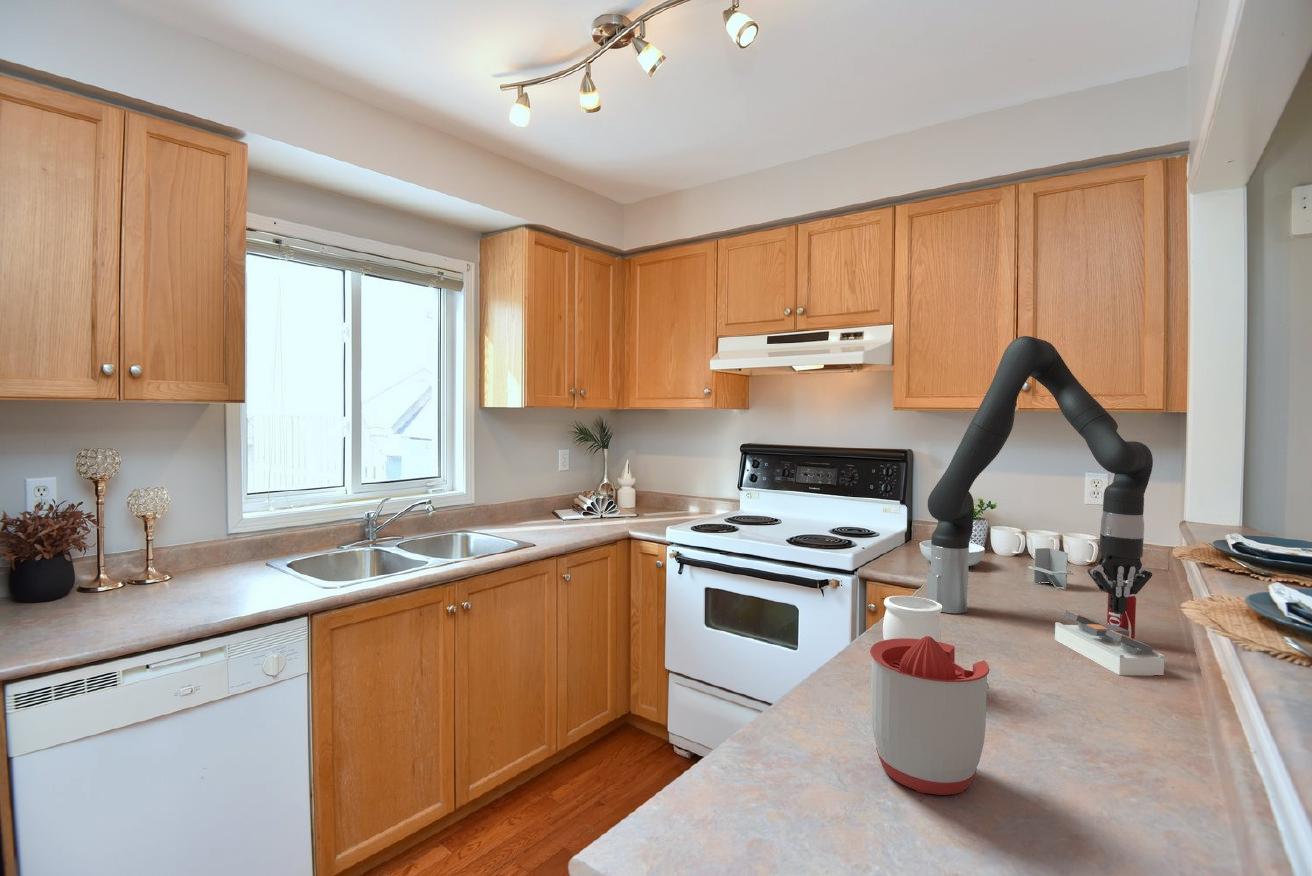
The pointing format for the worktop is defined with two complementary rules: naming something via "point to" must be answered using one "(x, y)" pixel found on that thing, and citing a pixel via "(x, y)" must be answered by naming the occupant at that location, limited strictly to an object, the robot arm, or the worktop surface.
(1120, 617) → the soda can
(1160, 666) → the power strip
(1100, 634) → the rocker middle
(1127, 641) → the rocker
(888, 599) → the jar
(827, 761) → the worktop surface
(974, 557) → the serving bowl
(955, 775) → the citrus juicer
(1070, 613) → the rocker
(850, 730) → the worktop surface
